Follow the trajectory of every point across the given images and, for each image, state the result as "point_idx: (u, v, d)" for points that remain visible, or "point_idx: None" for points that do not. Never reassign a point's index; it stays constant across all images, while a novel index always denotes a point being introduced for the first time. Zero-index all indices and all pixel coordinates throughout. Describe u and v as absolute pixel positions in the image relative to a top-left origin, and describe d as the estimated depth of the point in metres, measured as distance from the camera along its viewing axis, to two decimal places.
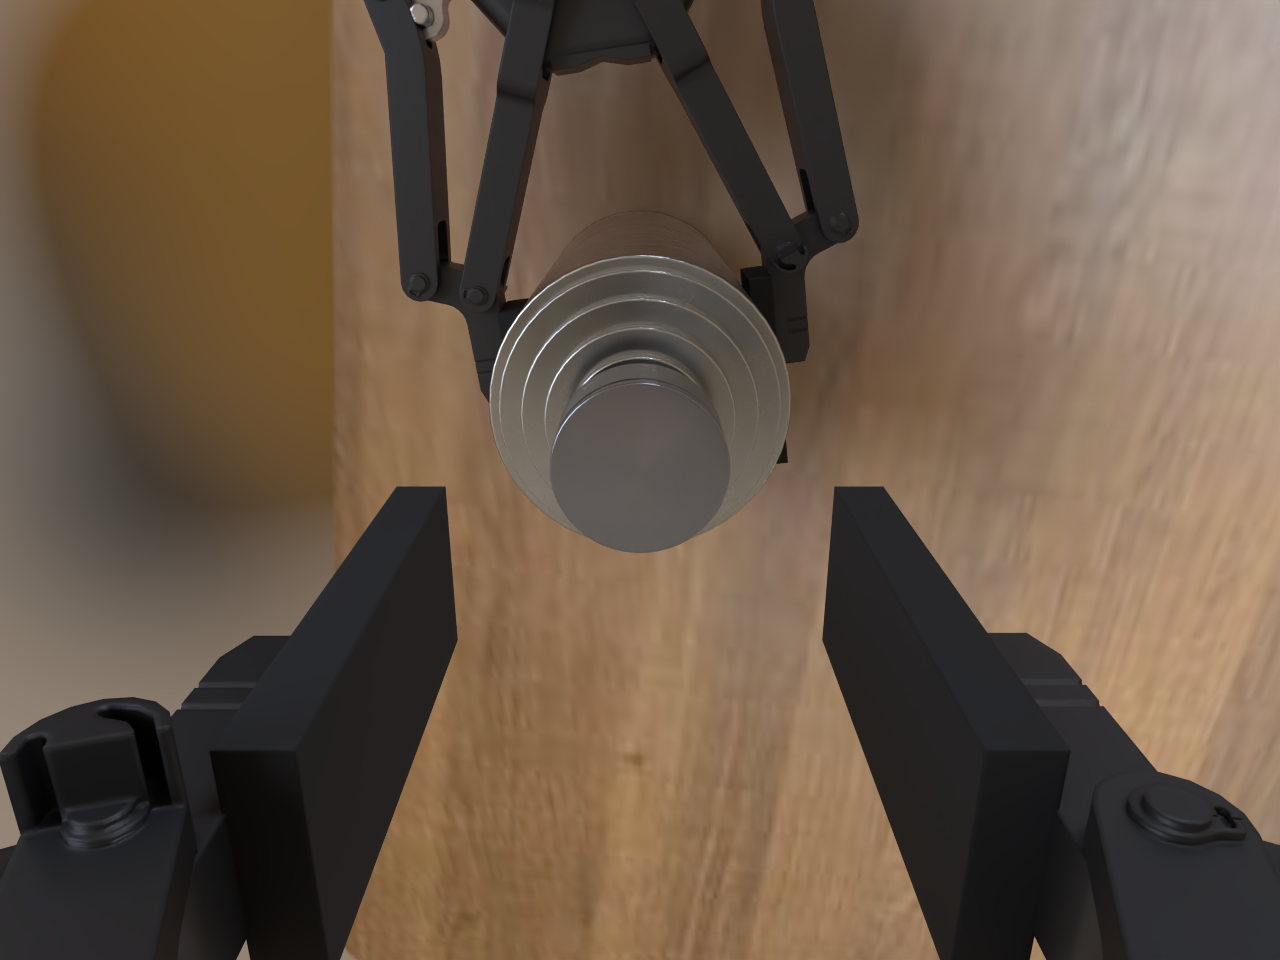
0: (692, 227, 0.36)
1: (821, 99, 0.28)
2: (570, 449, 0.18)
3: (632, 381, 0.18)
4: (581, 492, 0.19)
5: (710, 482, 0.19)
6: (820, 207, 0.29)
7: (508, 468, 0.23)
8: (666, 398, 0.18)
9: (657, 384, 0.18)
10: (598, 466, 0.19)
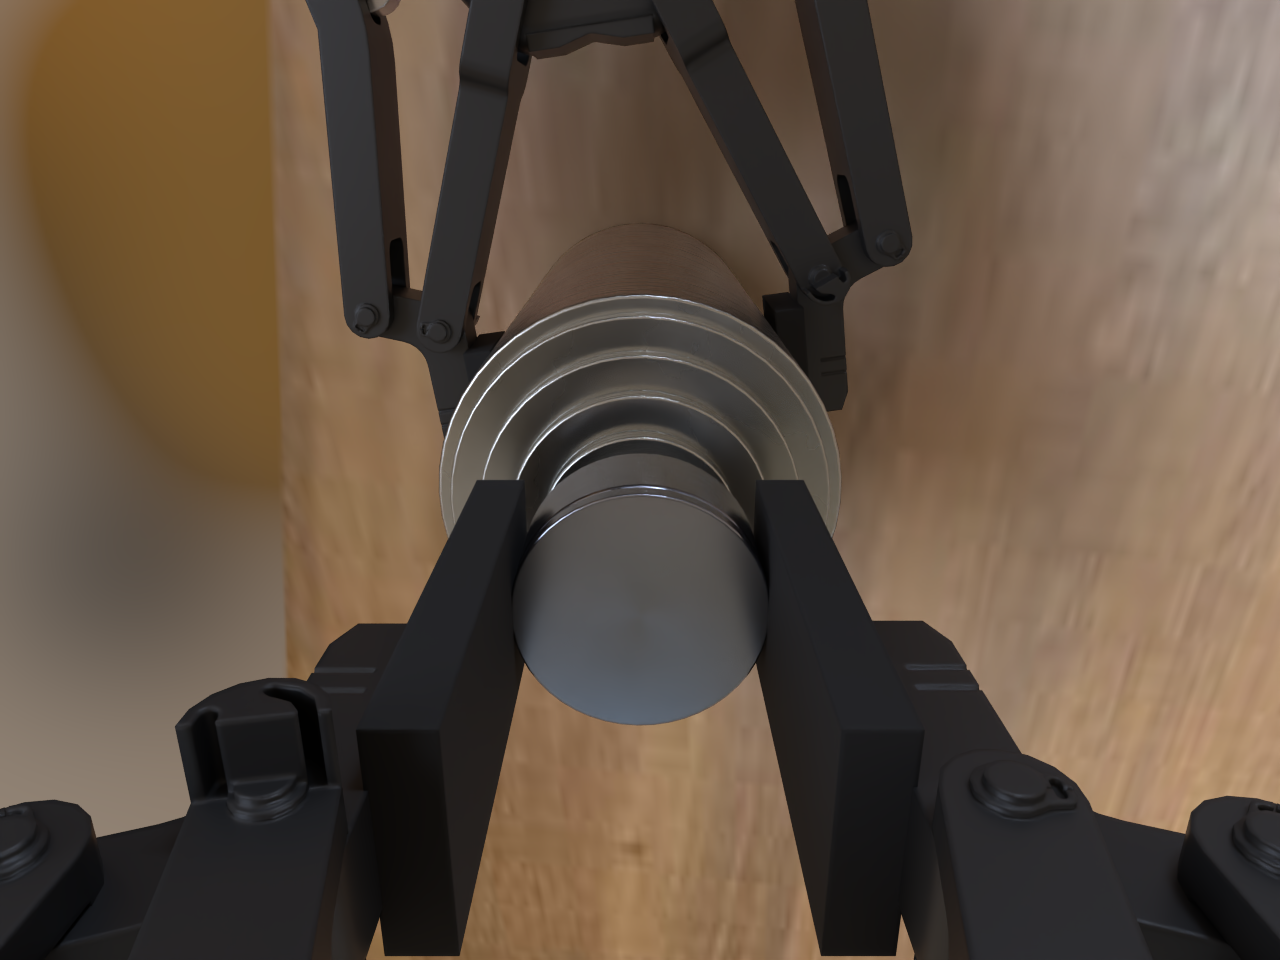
0: (702, 243, 0.30)
1: (868, 88, 0.22)
2: (539, 586, 0.13)
3: (629, 490, 0.12)
4: (556, 644, 0.13)
5: (741, 631, 0.13)
6: (865, 222, 0.23)
7: None
8: (679, 515, 0.12)
9: (665, 496, 0.12)
10: (580, 609, 0.13)
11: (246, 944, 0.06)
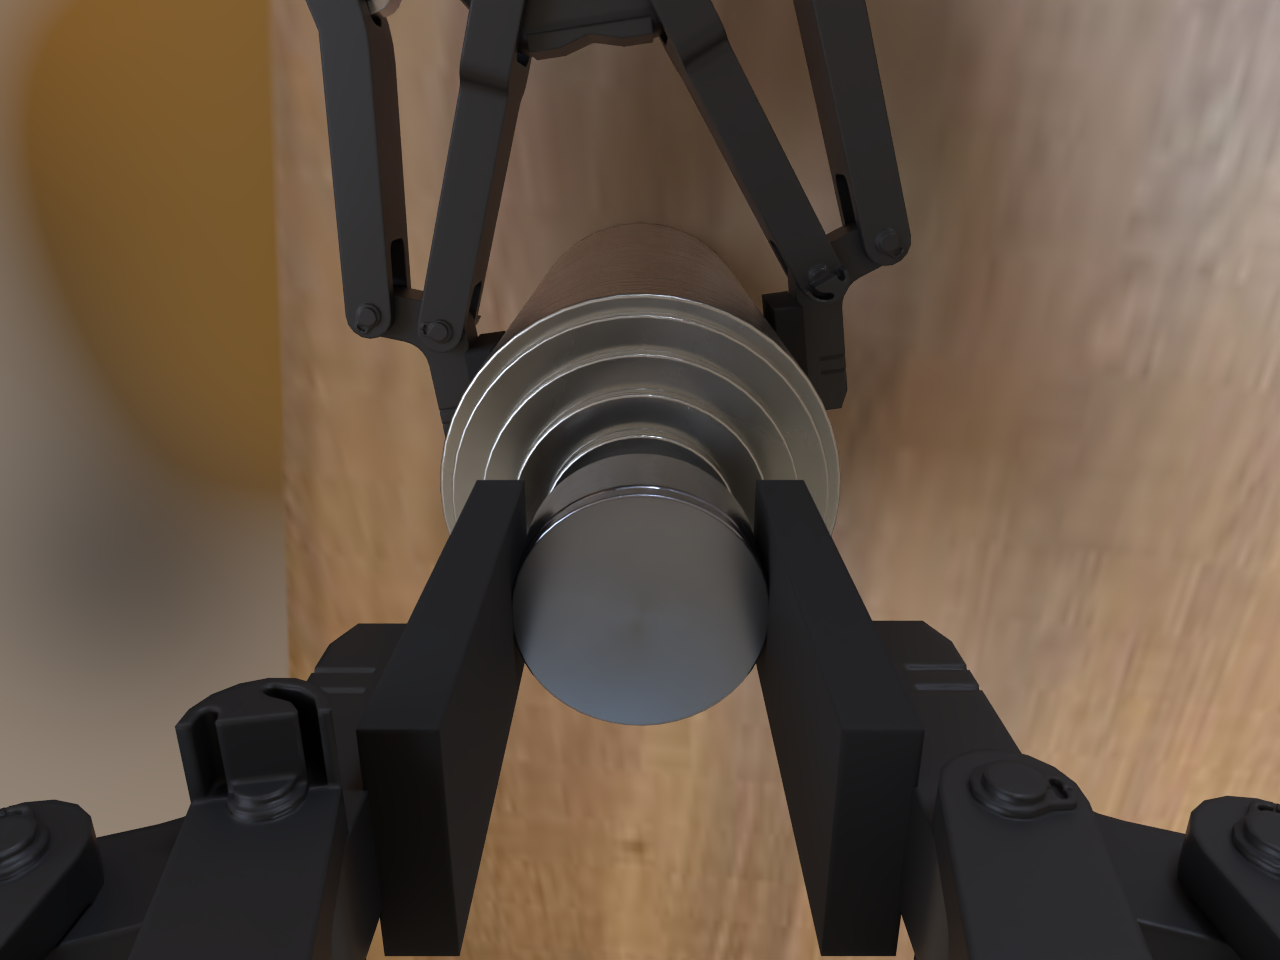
0: None
1: (866, 87, 0.22)
2: (665, 703, 0.13)
3: (541, 679, 0.13)
4: (712, 663, 0.13)
5: (598, 528, 0.12)
6: (863, 222, 0.23)
7: None
8: (530, 640, 0.13)
9: (522, 658, 0.13)
10: (666, 663, 0.13)
11: (246, 944, 0.06)
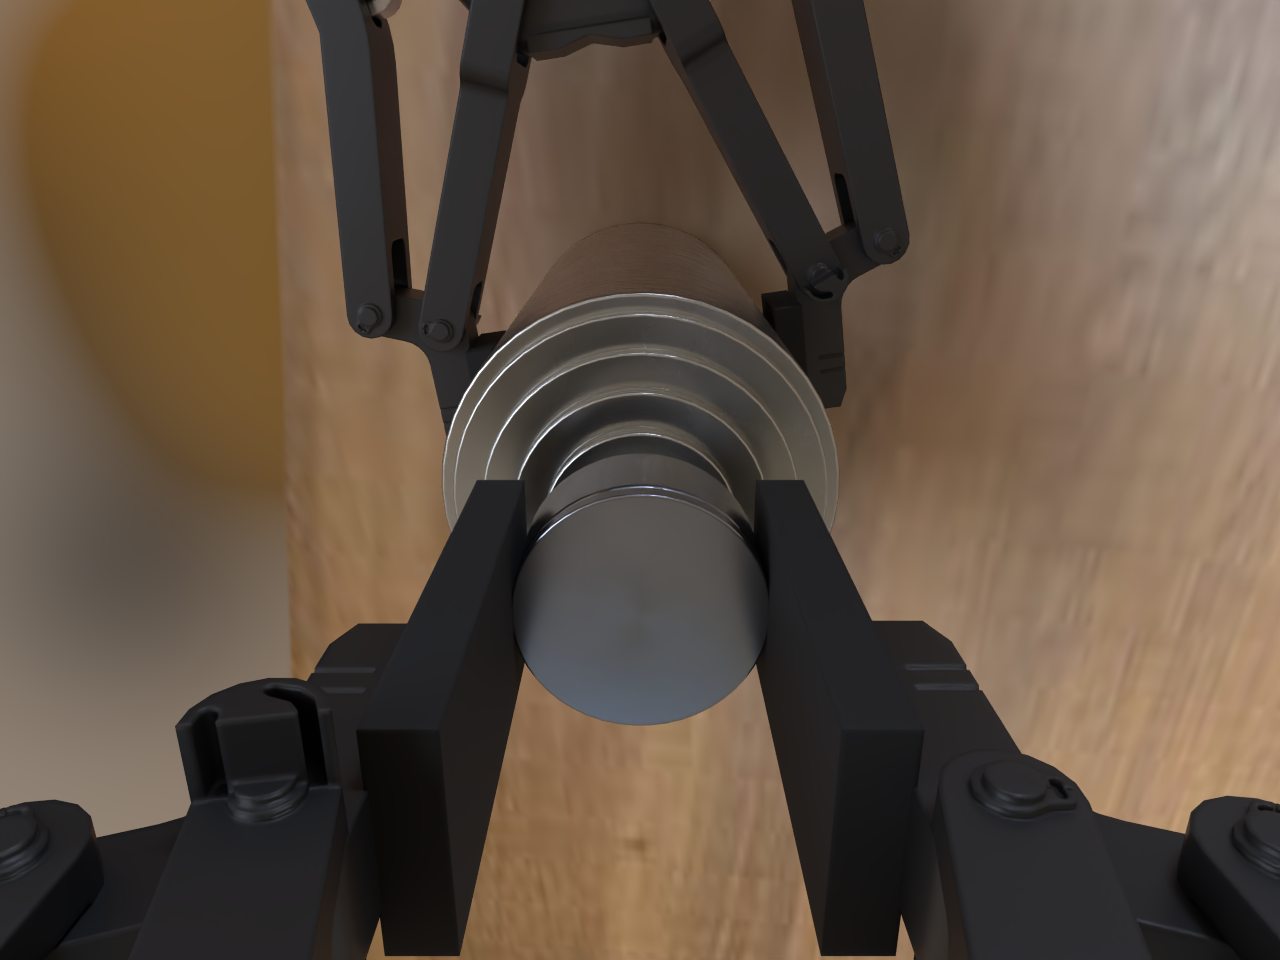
0: (701, 242, 0.30)
1: (864, 87, 0.22)
2: (714, 546, 0.13)
3: (760, 648, 0.13)
4: (646, 532, 0.12)
5: (584, 689, 0.13)
6: (862, 221, 0.24)
7: None
8: (721, 683, 0.13)
9: None
10: (672, 570, 0.13)
11: (246, 945, 0.06)
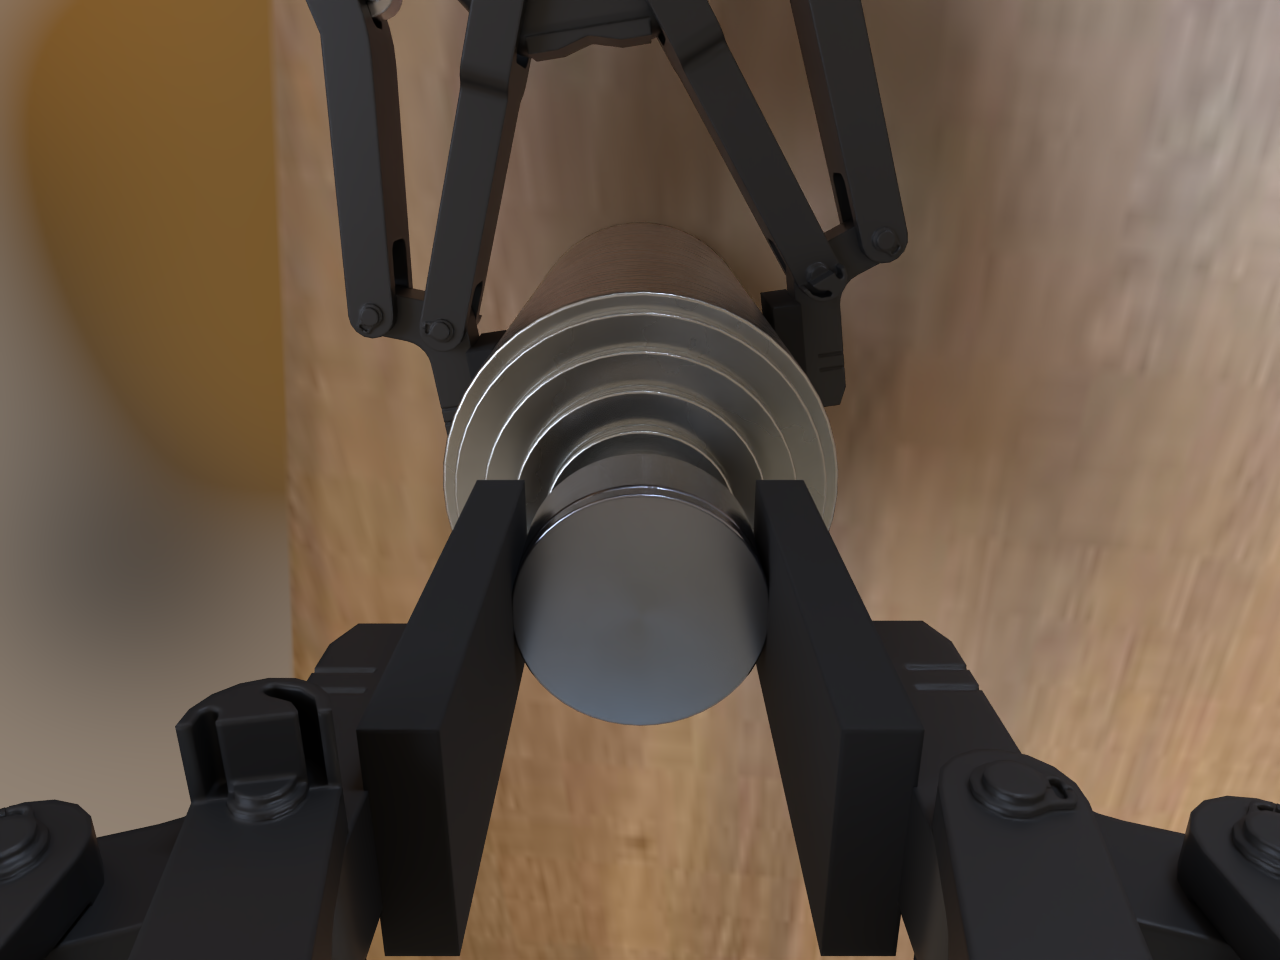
0: (701, 241, 0.30)
1: (862, 86, 0.23)
2: (536, 600, 0.13)
3: (609, 494, 0.12)
4: (562, 655, 0.13)
5: (744, 618, 0.13)
6: (861, 220, 0.24)
7: None
8: (662, 512, 0.12)
9: (646, 494, 0.12)
10: (580, 618, 0.13)
11: (246, 944, 0.06)
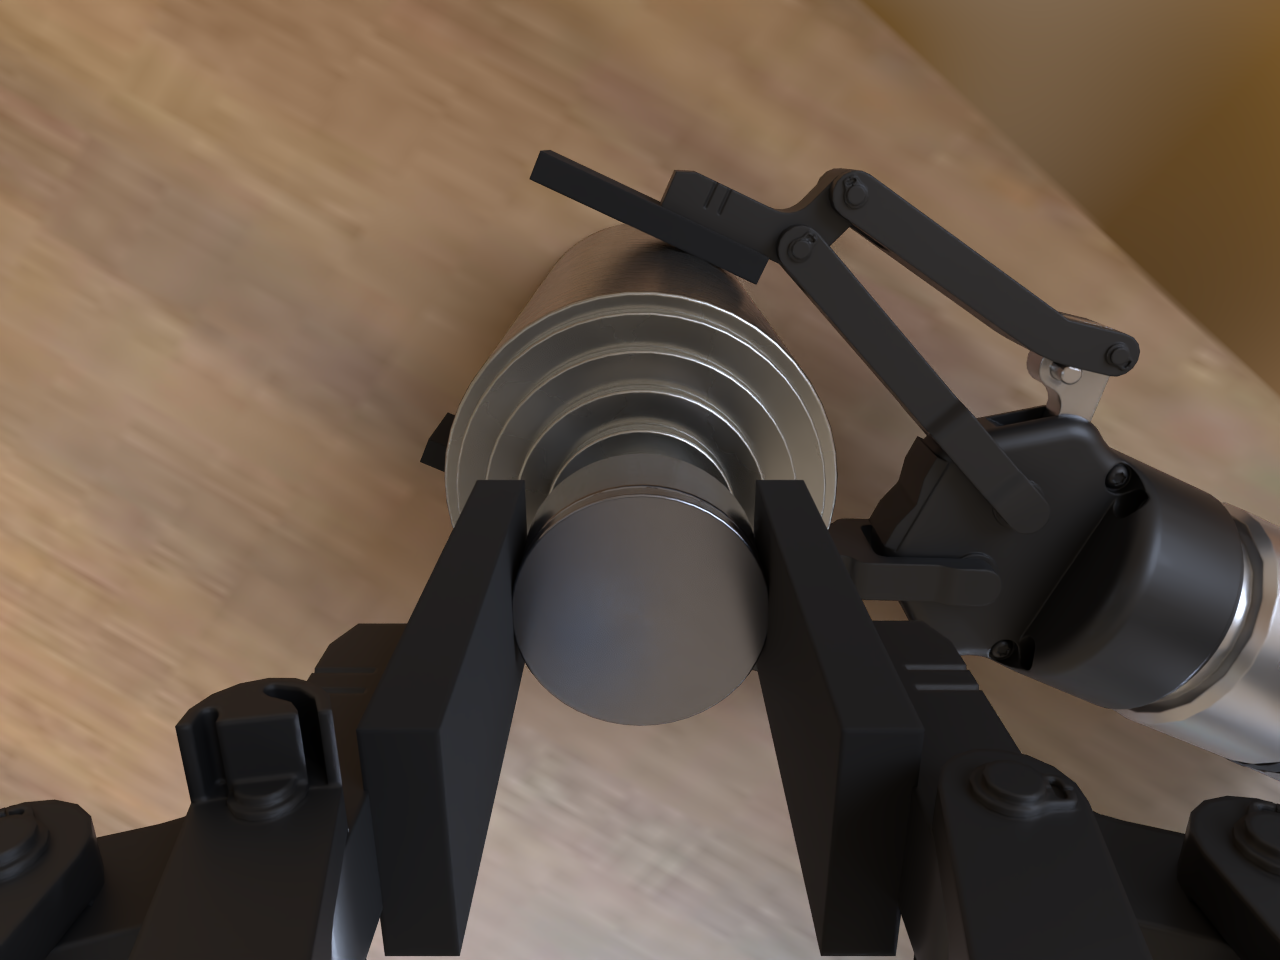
0: None
1: None
2: (536, 600, 0.13)
3: (609, 494, 0.12)
4: (562, 655, 0.13)
5: (744, 618, 0.13)
6: None
7: (666, 297, 0.16)
8: (662, 512, 0.12)
9: (646, 494, 0.12)
10: (580, 618, 0.13)
11: (246, 944, 0.06)
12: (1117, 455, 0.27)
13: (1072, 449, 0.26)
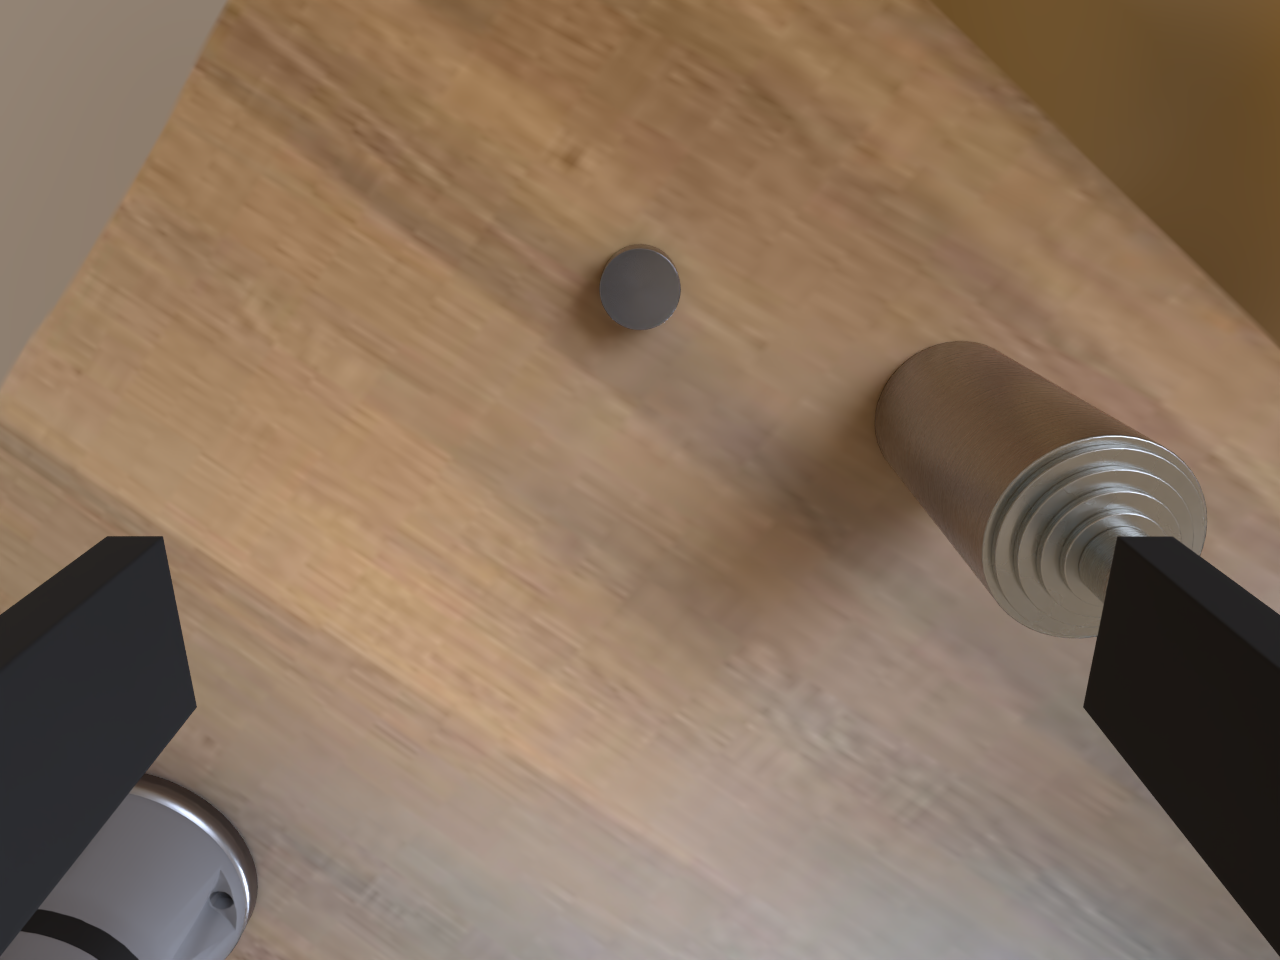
0: None
1: None
2: (607, 284, 0.41)
3: (630, 249, 0.41)
4: (615, 303, 0.42)
5: (672, 290, 0.42)
6: None
7: (1128, 438, 0.30)
8: (646, 254, 0.41)
9: (641, 248, 0.41)
10: (621, 290, 0.42)
11: None
12: None
13: None
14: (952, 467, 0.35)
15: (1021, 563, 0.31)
